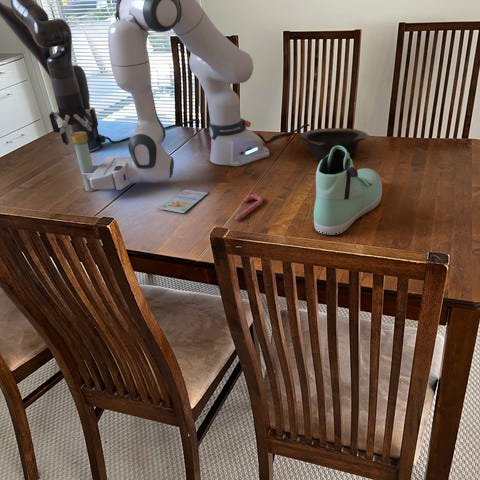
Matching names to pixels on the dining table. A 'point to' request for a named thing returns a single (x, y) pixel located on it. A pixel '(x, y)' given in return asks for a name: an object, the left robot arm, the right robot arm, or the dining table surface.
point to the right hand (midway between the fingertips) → (85, 172)
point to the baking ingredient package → (183, 201)
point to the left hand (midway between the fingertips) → (79, 142)
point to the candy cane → (250, 206)
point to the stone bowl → (332, 140)
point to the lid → (79, 137)
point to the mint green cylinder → (84, 162)
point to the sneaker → (343, 192)
